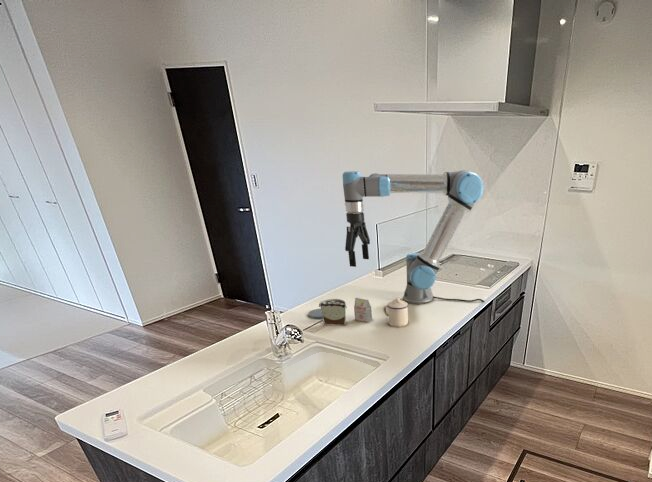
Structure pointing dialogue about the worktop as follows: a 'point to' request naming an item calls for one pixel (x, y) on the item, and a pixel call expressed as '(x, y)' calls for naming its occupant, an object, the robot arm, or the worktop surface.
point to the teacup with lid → (397, 312)
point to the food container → (333, 311)
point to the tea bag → (362, 310)
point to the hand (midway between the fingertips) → (359, 262)
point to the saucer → (316, 314)
